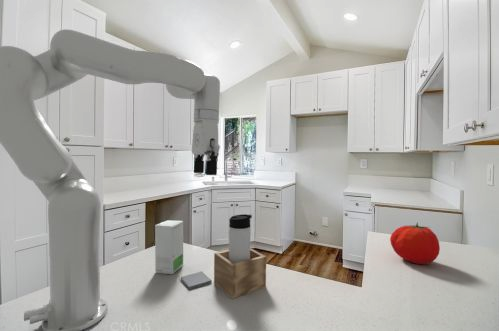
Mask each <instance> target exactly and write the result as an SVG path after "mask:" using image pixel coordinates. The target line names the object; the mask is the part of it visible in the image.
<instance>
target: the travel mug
mask: <svg viewBox="0 0 499 331" xmlns="http://www.w3.org/2000/svg"><path fill="white" fill-rule="evenodd" d="M252 218H253V215H252V214H236V215H233V216H230V218H228V221H229V223H228V225H229V226H228V227H229V228H228V250H229V261H231V262H232V263H238V262H241V261H245V260H249V259H250V248H251V219H252Z"/></svg>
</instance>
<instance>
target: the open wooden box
mask: <svg viewBox="0 0 499 331" xmlns="http://www.w3.org/2000/svg"><path fill="white" fill-rule="evenodd" d="M213 254H214V257H213V258H214V260H213V261H214V265H213V271H214V272H213V284H215V285H216V286H217V287H218V288H219V289H220V290H221V291H223V292H224V293H225V294H226V295H227V296H228V297H229V298H231V299H235V298H238V297H241V296H244V295H247V294H250V293H253V292H255V291H259V290H261V289H264V288H266V287H267V284H266V283H267V282H266V281H267V255H264V254H262V253H261V252H259V251H257V250H255V249H253V248H252V247H250V259H249V260H245V261H241V262H238V263H232V262H231V261H229V249H227V250H220V251H217V252H214V253H213Z"/></svg>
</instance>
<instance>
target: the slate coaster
mask: <svg viewBox="0 0 499 331" xmlns="http://www.w3.org/2000/svg"><path fill="white" fill-rule="evenodd" d="M180 281H181V282H182V283H183V285H185V286H186V288H187V289H188V290H193V289H196V288H199V287H203V286H207V285H209V284H211V283H212V279H211V278H210V277H209V276H208V275H207V274H205V273H204V272H203V271H198V272H194V273H190V274H187V275H184V276H180Z"/></svg>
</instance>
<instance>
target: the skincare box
mask: <svg viewBox="0 0 499 331" xmlns="http://www.w3.org/2000/svg"><path fill="white" fill-rule="evenodd" d="M154 229H155V232H154V234H155V235H154V236H155V237H154V238H155V239H154V241H155V243H154V245H155V247H154V248H155V250H154V254H155V258H154V259H155V261H154V262H155V266H154V267H155V269H154V270H155V273H157V274H164V275H165V274H166V275H173V274H174V273H175V272H177V271H178V270H179V269H180V268H182V267H183V266H184V221H183V220H171V219H169V220H165V221H162V222H160V223H157V224H155V225H154Z"/></svg>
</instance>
